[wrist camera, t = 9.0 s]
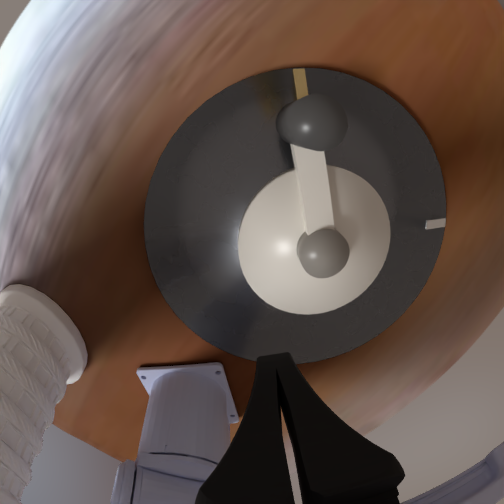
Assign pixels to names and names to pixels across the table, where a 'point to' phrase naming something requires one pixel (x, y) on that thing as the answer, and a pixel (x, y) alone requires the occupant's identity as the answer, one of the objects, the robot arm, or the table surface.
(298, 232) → the dial
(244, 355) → the dial plate
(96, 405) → the table surface
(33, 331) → the decorative container
